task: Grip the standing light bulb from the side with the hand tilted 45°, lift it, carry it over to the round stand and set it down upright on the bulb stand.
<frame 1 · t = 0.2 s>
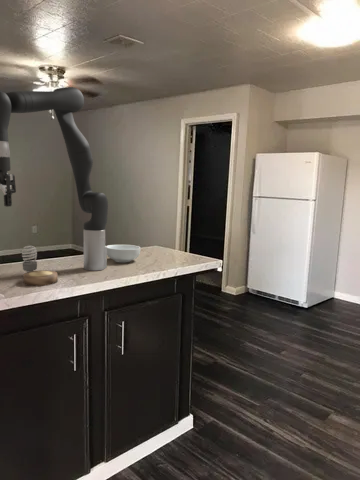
hand: (0, 205, 130), 29 cm above the counter, tool pointing down, fingers open, 8 cm apart
cereal bowl: (122, 261, 191), on the counter
bulb stand: (40, 281, 147), on the counter
light bulb: (30, 275, 156), on the counter
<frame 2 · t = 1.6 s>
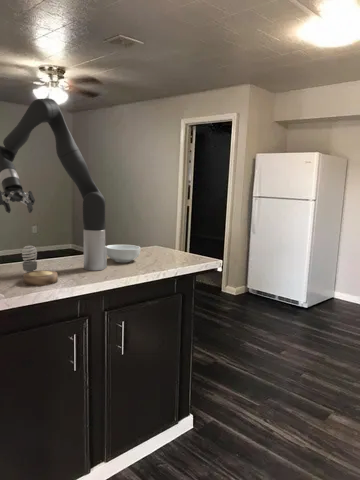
hand: (20, 211, 161), 25 cm above the counter, tool tilted 45°, fingers open, 8 cm apart
nothing on the counter moved.
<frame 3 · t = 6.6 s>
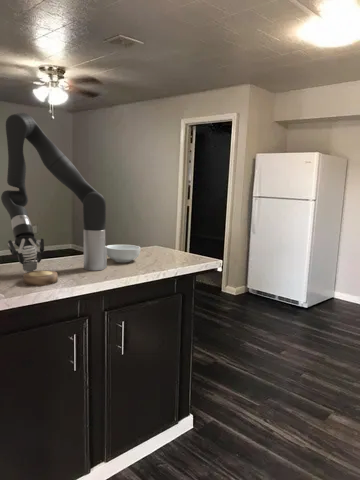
hand: (31, 262, 154), 6 cm above the counter, tool tilted 45°, fingers closed on light bulb, 5 cm apart
light bulb: (30, 275, 156), on the counter, touching gripper
everything else where it was.
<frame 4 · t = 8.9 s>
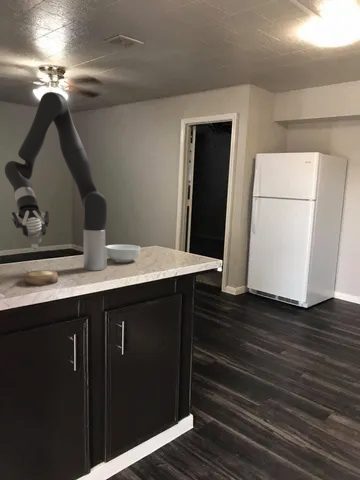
hand: (35, 234, 148), 17 cm above the counter, tool tilted 45°, fingers closed on light bulb, 5 cm apart
light bulb: (34, 249, 151), point 11 cm above the counter, touching gripper
everything else where it was.
when the fingers open (10 cm above the counter, at t = 11.7 s): light bulb drops 1 cm, resting on bulb stand.
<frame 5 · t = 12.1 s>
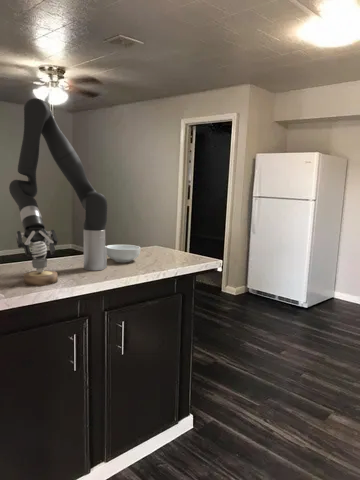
hand: (41, 254, 145), 11 cm above the counter, tool tilted 45°, fingers open, 8 cm apart
light bulb: (40, 273, 147), point 3 cm above the counter, touching bulb stand
everything else where it was.
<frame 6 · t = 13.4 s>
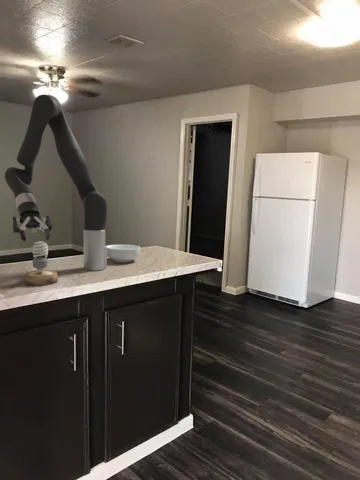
hand: (36, 239, 149), 15 cm above the counter, tool tilted 45°, fingers open, 8 cm apart
nothing on the counter moved.
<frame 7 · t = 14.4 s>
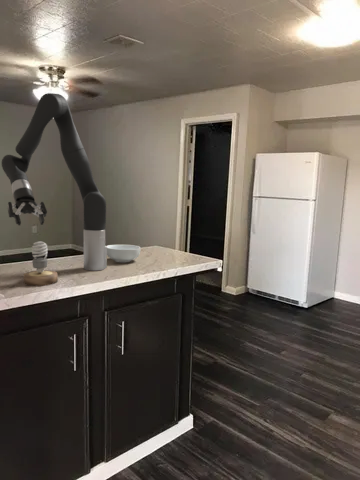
hand: (31, 223, 154), 21 cm above the counter, tool tilted 45°, fingers open, 8 cm apart
nothing on the counter moved.
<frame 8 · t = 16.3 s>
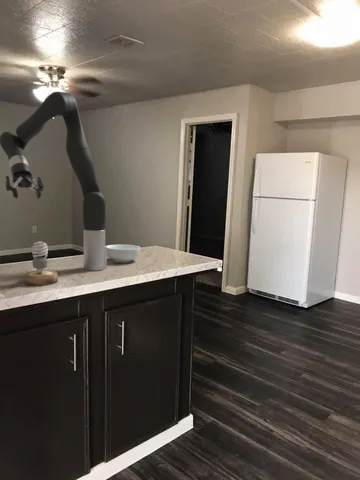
hand: (27, 197, 159), 31 cm above the counter, tool tilted 45°, fingers open, 8 cm apart
nothing on the counter moved.
at the end: light bulb 0.2 cm off-centre on the bulb stand, point 3.0 cm above the bulb stand's base; light bulb tilted 0°; the gripper is holding nothing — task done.
